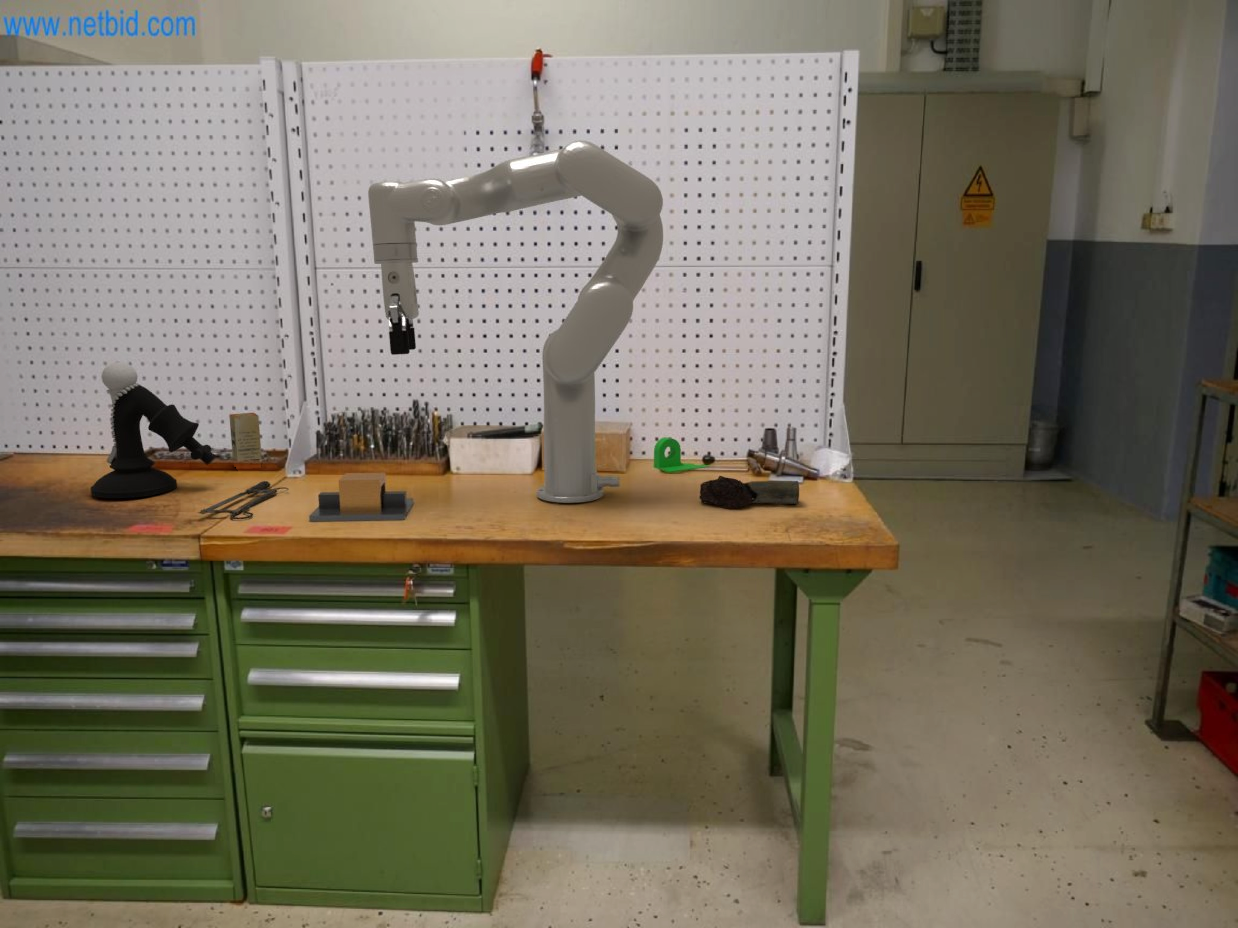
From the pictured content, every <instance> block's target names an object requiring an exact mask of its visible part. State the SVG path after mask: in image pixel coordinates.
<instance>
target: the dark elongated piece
mask: <svg viewBox="0 0 1238 928" xmlns="http://www.w3.org/2000/svg"><path fill="white" fill-rule="evenodd" d="M699 487H700V489H699V496H698V497H699V500H700V502H701V503H705V504H706V505H714V506H717V507H723V508H725V509H727V510H732V509H735V510H741V509H743V508H745V507H746V506H748V505H749V504H751V503H752V504H781V505H782V504H783V505H796V504H797V505H798V504H799V500H800V483H799V481H798V480H761V481H760V480H753V481H752V480H751V481H748V482H744V483H743V482H742V481H741V480H739V479H736V478H733V477H726V476H725V477H724V476H722V475H719V476H718V477H717V478H716V479H709V480H707V481H704V482H702V483H700V486H699Z"/></svg>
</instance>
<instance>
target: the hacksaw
mask: <svg viewBox="0 0 1238 928" xmlns="http://www.w3.org/2000/svg"><path fill="white" fill-rule="evenodd" d="M282 489H283V490H282ZM285 489H286V490H285ZM278 490H280V491H279V492H281V493H282V492H284V490H285V492H286V491H289V488H288V487H281V486H280V487H276V488H275V487H274V488H271V483H270V482H269V481H268V480H267V481H266V480H263V481H260V482H259V483H257V484H256V485H253V486H251V487H249V488H247V489H245V490H244V492H239V493H237V494H235V495H233V496H231V497H228V498H226V499H224V500H223V501H220V502H217V503H216V504H214V505H212V506H209V507H207V508H203V509H201V510H200V511H198V512H197V513H198V514H201V515H205V514H223V513H224V514H230V516H229V518H230V519H232V520H248V519H250V518H252V517H253V516H254V513H253V512H250V511H248V510H249V509H251V506H253V505H255V504H256V503H259V502H260V501H262V500H265V499H267V498H268V497H270V496H272V495H274V494H277V492H278ZM281 490H282V491H281ZM251 494H261V495H258V496H256V497H255V498H253V499H251V500H249V501H247V502H246V503H244V504H243V505H240V506H239V507H238V508H236V509H218V508H220V507H222V506H224V505H226V504H228V503H231V502H233V501H235V500H237V499H239V498H242V497H243V496H245V495H251ZM241 512H242V513H244V514H247V516H240V517H238V516H237V515H239V514H241ZM235 516H236V517H235Z"/></svg>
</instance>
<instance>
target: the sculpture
mask: <svg viewBox="0 0 1238 928" xmlns="http://www.w3.org/2000/svg"><path fill="white" fill-rule="evenodd" d="M101 382H102V384H103V385H104V386H105V387H106V388H107V390H106V392H107V393H108V394H109V396H110V399H111V405H110V406H111V410H110V412H111V413H110V416H111V417H109V418H110V425H111V426H110V430H111V432H110V433H111V438H112V439H113V440H112V442H113V446H112V448H111V452H110V453H109V455H108V457H107V458H106V463H107V464H110V465H109V468H110V469H111V470H112V471H109V472H108V473H106V474H104V475H103V476H101V477H100V478H98V479H97V480H96V481H95V482H94V484H93V485H91V487H90V494H91V495H92V496H94V497H96V498H101V499H133V498H141V497H150V496H156V495H158V494H159V495H160V494H163V493H167V492H170V491H173V490H175V489H176V488H177V487H178V482H177V481H178V480H177V479H176V478H175V477H174V476H172V475H171V474H169V473H168V472H166V471H164V470H161V469H160V468H159V469H158V468H156V467H153V466H154V465H155V464H156V463H155V461H153V460H152V459H150V458H149V457H148V456H147V455H146V452H145V449H144V446H143V440H142V434H141V420H142V418H143V416H144V417H145V418H146V420H147V421H148V422H149V424H148V430H149V431H150V432H152V433H154V434H156V435H158V436H160V437H161V438H162V439H163V440H164V441H165V443H166V445H167V448H168V451H169V453H174V452H177V450H179V449H181V448H183V447H184V448H185V449H187V450H188V451H189V452H190V458H191V459H192V460H196V461H197V460H201V461H202V462H203V463H204V464H205V465H206V466H208V465H210V464H211V463H212V462H213V461H214V460H215V459H216V457H217V455H216V454H215V453H213V452H212V447H211V446H210V444H204V445H203V444H202V443H201V442H199V441H198V440H197V439H195V437H194V436H195V434H196V432H197V430H198V428H199V425H200V424H199V422H193V421H190V420H189V419H187V418H185V417H183V415H181V413H180V412H179V410H178V409H177V407H176V405H175V404H169V405H167V404H166V403H165V402H164V401H163V400H161V399H160V398H159V397H158V396H157V395H156V394H155V393H153V392H152V391H150V390H149V389H148V388H146V387H144V386H143V385H141V384H140V383H137V382H138V373H137V371H136V369H135V368H134V367H133V366H132V365H131V364H128V363H126V362H122V361H117V362H113V363H109V364H108V365H106V367H105V368H104V369H103V370H102V372H101Z"/></svg>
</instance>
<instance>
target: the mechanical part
mask: <svg viewBox="0 0 1238 928" xmlns="http://www.w3.org/2000/svg"><path fill="white" fill-rule="evenodd" d="M667 448H669V454H668V455H667V456H666V454H665V453H666V450H667ZM681 451H682V450H681V444H680V443H679V441H678V440H676V439H674V438H671V437H666V436H665V437H661V438H659V440H657V442H656V443H655V444H654V448H653V468H655V469H657V470H660V471H663V472H664V473H665V472H666V473H669V474H673V473H678V472H684V471H692V470H698V469H703V468H708V467H711V464H710V465H704V464H705V463H702V464H695V463H691V462H682V454H681Z"/></svg>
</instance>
